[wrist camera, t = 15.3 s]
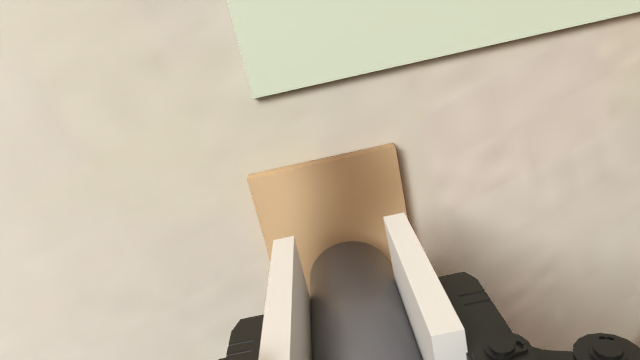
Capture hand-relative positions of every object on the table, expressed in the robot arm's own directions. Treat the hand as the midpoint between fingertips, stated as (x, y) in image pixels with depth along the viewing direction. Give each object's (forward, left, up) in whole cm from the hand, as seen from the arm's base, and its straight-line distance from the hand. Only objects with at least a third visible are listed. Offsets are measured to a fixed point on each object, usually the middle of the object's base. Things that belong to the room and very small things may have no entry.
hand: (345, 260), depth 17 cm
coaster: (0, 0, -3) cm, 3 cm away
